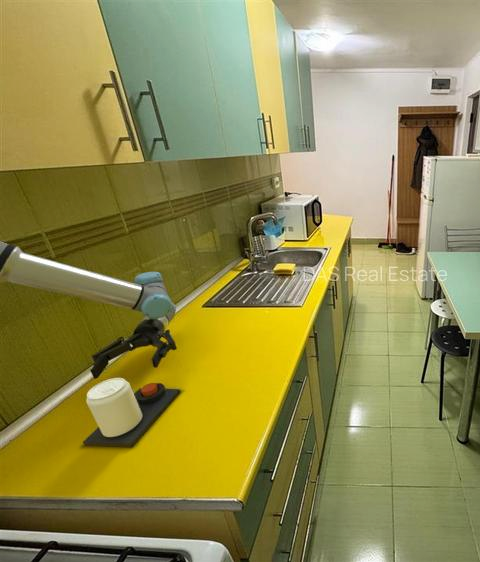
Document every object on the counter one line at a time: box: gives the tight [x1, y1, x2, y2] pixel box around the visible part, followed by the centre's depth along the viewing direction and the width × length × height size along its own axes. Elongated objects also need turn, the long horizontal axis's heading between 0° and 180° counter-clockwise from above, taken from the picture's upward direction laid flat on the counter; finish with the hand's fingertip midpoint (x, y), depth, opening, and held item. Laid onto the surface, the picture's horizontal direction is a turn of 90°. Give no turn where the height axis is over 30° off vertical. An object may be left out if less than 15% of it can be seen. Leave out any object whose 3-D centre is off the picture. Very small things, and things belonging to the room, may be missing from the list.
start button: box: [140, 382, 158, 397], centre depth 85 cm, size 4×4×2 cm
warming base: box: [82, 382, 181, 448], centre depth 80 cm, size 18×12×3 cm, turn 178°
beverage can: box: [85, 377, 142, 437], centre depth 74 cm, size 8×8×12 cm
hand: (124, 368), depth 81 cm, fingers open, 13 cm apart
